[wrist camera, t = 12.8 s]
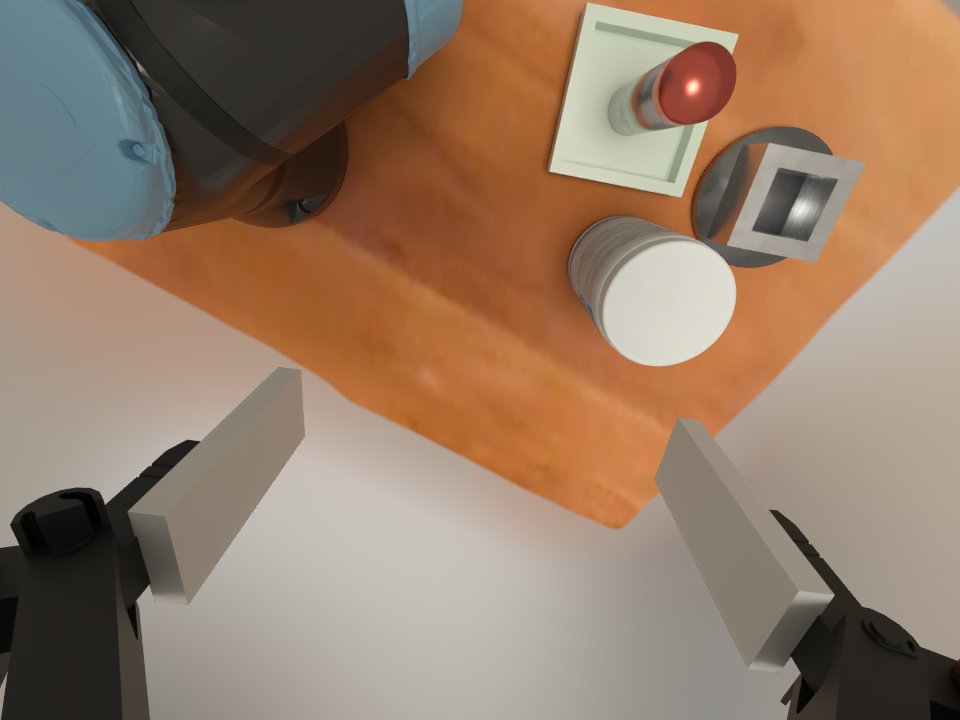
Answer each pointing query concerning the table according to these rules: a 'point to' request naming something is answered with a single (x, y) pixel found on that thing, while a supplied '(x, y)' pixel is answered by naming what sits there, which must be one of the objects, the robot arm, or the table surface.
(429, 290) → the table surface
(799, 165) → the grey socket fixture
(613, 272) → the supplement tub
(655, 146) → the tray
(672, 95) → the red capped bottle
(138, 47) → the robot arm
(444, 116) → the table surface
